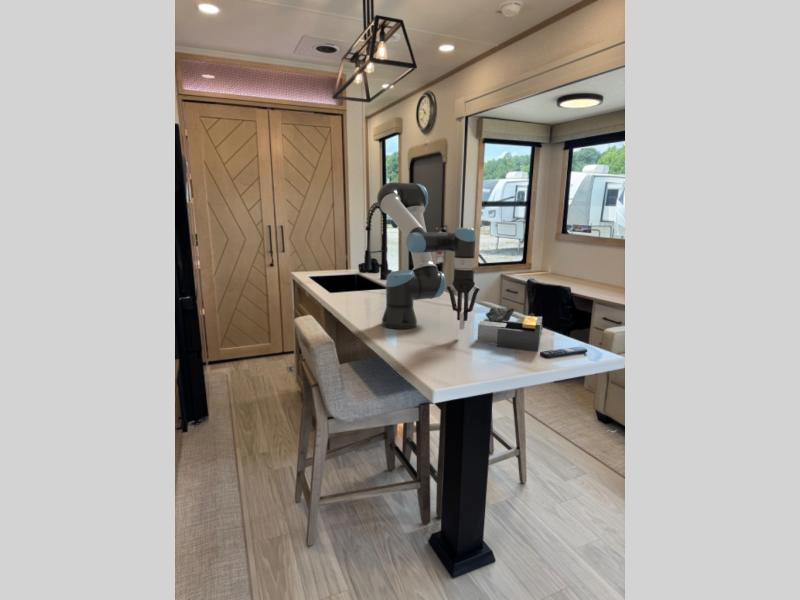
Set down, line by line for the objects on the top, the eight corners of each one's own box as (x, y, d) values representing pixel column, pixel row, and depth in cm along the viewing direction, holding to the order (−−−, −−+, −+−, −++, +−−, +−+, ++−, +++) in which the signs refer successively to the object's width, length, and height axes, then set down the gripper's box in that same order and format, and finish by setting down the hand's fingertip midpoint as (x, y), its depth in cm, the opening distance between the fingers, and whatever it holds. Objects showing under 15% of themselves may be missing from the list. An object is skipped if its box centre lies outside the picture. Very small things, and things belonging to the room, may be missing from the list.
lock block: (477, 342, 168) (478, 324, 167) (479, 337, 174) (480, 320, 172) (503, 345, 165) (505, 327, 164) (505, 340, 171) (506, 323, 169)
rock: (497, 324, 191) (509, 304, 190) (477, 314, 201) (488, 294, 200) (512, 334, 199) (523, 314, 199) (492, 323, 209) (502, 305, 209)
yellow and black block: (541, 337, 177) (548, 317, 181) (516, 326, 178) (523, 306, 182) (533, 346, 186) (539, 326, 190) (509, 335, 187) (515, 316, 191)
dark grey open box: (496, 346, 162) (498, 320, 160) (501, 337, 174) (503, 312, 172) (537, 351, 157) (540, 325, 155) (540, 341, 169) (542, 316, 167)
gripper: (445, 269, 167) (443, 329, 171) (479, 270, 162) (476, 332, 167) (449, 266, 173) (448, 324, 178) (482, 268, 169) (480, 327, 173)
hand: (461, 328), depth 172 cm, fingers closed
